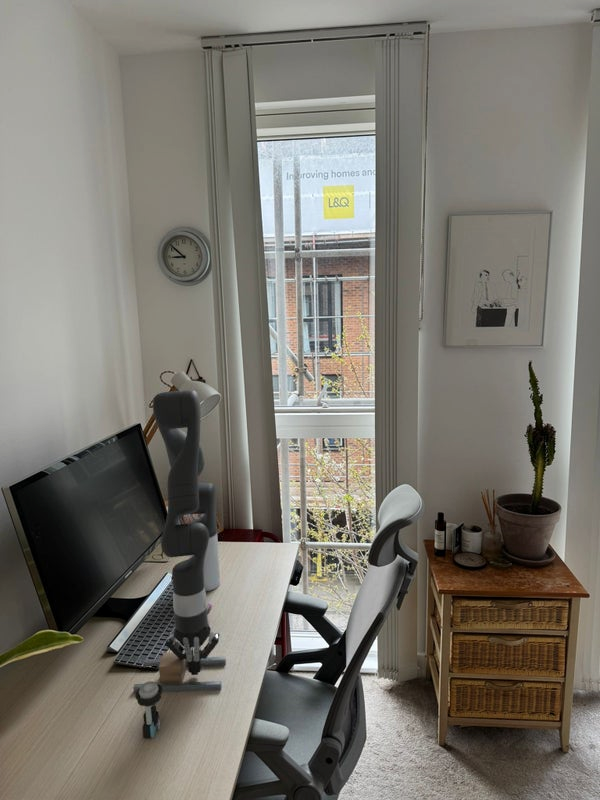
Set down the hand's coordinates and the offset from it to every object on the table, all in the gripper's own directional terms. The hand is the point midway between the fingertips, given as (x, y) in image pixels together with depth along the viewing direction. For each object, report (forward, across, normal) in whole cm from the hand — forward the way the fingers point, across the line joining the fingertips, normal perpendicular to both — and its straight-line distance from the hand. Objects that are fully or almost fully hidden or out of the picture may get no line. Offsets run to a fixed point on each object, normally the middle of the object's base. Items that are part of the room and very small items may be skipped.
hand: (195, 672), depth 127 cm
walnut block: (+1, +5, 0) cm, 5 cm away
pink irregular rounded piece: (+1, +2, -20) cm, 20 cm away
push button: (+1, +6, +15) cm, 16 cm away
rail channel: (+1, +3, 0) cm, 3 cm away
